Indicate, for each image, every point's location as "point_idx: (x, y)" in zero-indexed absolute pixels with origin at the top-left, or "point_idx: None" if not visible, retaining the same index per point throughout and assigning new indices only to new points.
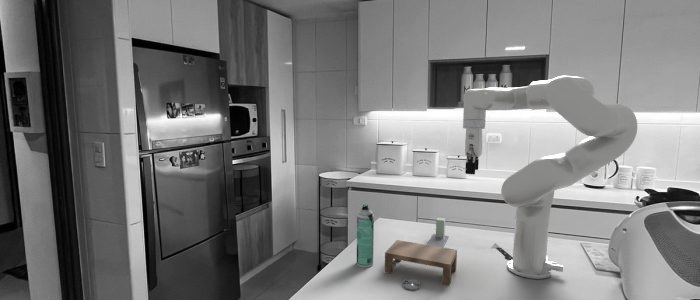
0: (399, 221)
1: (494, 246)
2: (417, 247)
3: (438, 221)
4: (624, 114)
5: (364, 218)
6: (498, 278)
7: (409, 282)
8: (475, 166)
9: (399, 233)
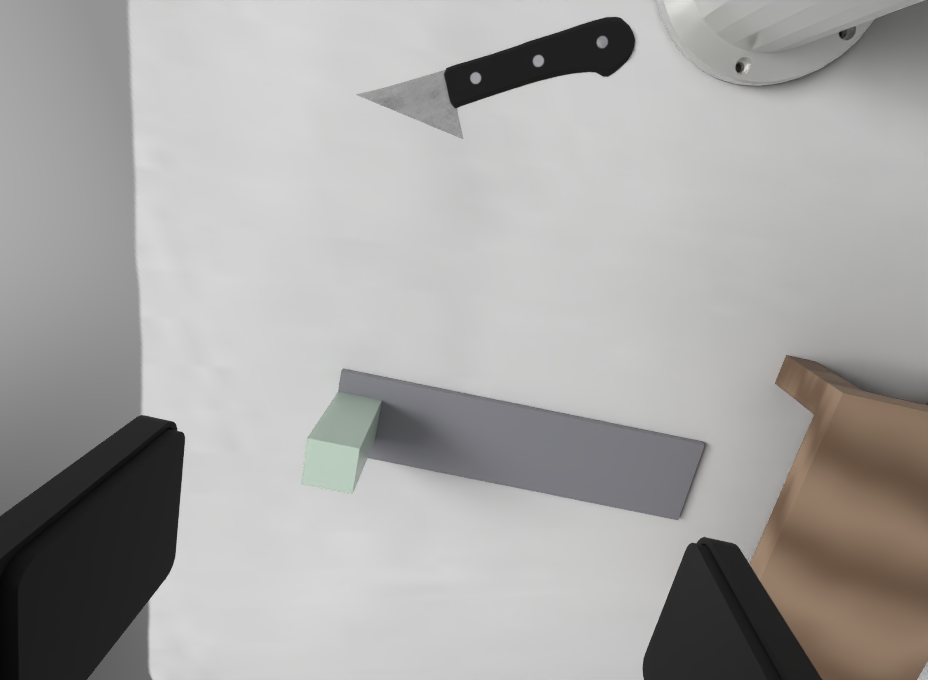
0: (165, 613)
1: (426, 110)
2: (821, 584)
3: (357, 475)
4: None
5: None
6: (881, 158)
7: None
8: (143, 505)
9: (358, 604)
